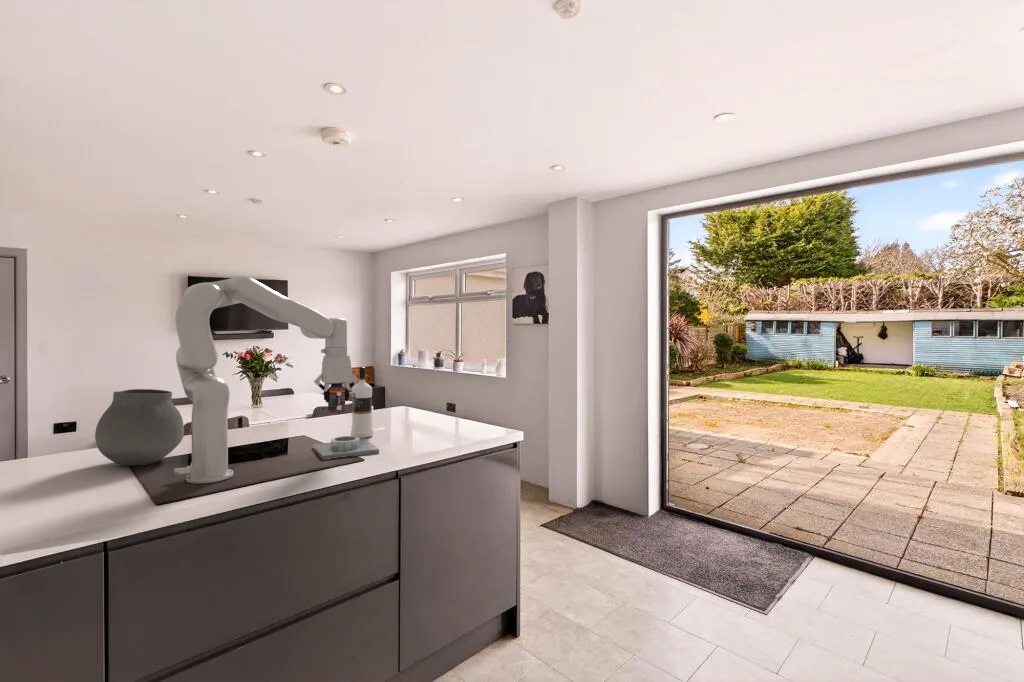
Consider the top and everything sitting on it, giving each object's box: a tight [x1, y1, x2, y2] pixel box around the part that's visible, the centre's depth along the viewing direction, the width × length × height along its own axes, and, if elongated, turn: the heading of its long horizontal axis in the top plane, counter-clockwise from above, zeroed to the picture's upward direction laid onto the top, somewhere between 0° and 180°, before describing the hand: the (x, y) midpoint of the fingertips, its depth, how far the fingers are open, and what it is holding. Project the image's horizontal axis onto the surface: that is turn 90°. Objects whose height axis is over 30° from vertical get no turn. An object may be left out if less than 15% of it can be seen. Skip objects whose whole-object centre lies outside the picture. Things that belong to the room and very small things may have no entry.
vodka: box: [350, 366, 374, 439], centre depth 215 cm, size 9×9×30 cm
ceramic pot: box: [94, 388, 185, 467], centre depth 170 cm, size 24×24×25 cm
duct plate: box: [312, 435, 380, 460], centre depth 190 cm, size 20×20×4 cm
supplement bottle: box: [327, 383, 346, 414], centre depth 183 cm, size 6×6×11 cm
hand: (336, 400), depth 183 cm, fingers closed on supplement bottle, 6 cm apart
